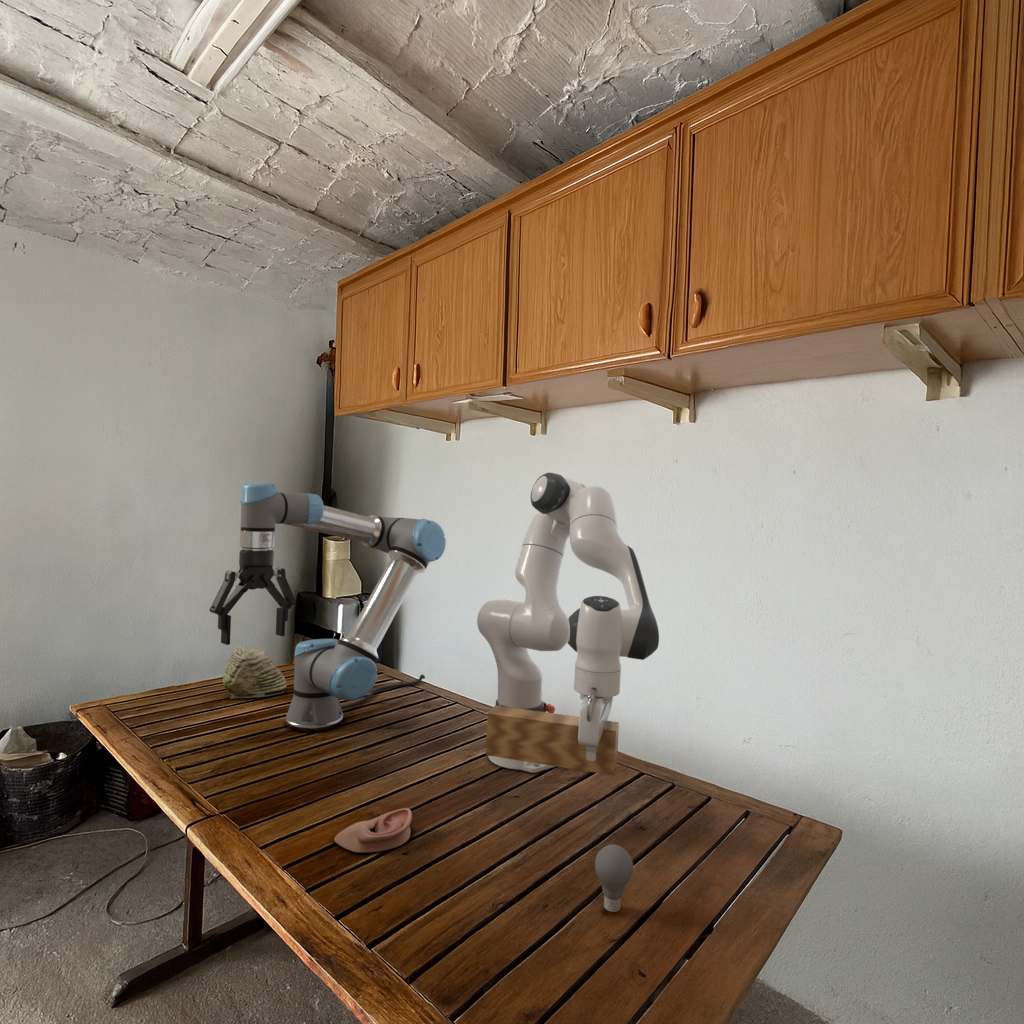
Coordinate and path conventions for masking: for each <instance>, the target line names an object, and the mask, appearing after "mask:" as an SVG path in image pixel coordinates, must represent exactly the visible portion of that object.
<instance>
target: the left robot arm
mask: <svg viewBox="0 0 1024 1024" xmlns="http://www.w3.org/2000/svg"><path fill="white" fill-rule="evenodd" d="M278 524H279V525H280V524H282V525H287V526H291V527H292V526H293V527H296V528H301V529H304V530H308V531H313V532H317V533H322V534H326V535H331V536H335V537H338V538H344V539H348V540H352V541H357V542H360V543H361V544H362V545H363V546H364V547H367V548H371V549H374V550H378V551H381V552H383V553H385V554H388V556H389V562H388V564H387V565H386V567H385V569H384V571H383V572H382V574H381V575H380V577H379V579H378V581H377V583H376V585H375V587H374V589H373V590H372V591H371V594H370V596H369V598H368V599H367V601H366V602H365V605H364V606H363V608H362V610H361V611H360V613H359V615H358V616H357V619H356V621H355V622H354V624H353V625H352V627H351V629H350V631H349V632H348V635H346V636H344V637H343V636H342V637H340V638H339V639H337V638H318V639H308V640H304V641H300V642H299V643H297V644H296V646H295V650H294V655H293V657H294V672H293V673H294V674H293V695H292V696H293V697H292V699H291V702H290V704H289V708H288V711H287V713H286V715H285V726H286V728H287V729H289V730H291V731H294V732H295V731H296V732H301V733H316V732H325V731H329V730H332V729H335V728H337V727H339V726H340V725H342V723H343V722H344V713H343V710H345V709H349V708H353V707H356V706H358V705H360V704H364V703H365V702H366V701H368V700H369V699H371V698H372V697H373V696H374V695H375V694H376V693H378V692H381V691H384V690H389V689H395V688H400V687H401V688H402V687H409V686H415V685H419V684H420V683H421V682H422V680H424V679H426V676H425V675H424V674H423V673H422V674H420V676H419V678H418V679H417V680H415V681H410V682H402V683H396V684H390V685H385V686H381V687H378V688H375V689H374V690H373V688H374V686H375V684H376V682H377V679H378V674H377V672H378V669H377V665H376V664H377V662H378V660H379V655H378V651H377V650H378V648H379V646H380V645H381V642H382V641H383V639H384V637H385V635H386V633H387V632H388V629H389V628H390V625H391V624H392V622H393V620H394V619H395V616H396V615H397V612H398V611H399V609H400V607H401V605H402V603H403V602H404V599H405V598H406V596H407V594H408V592H409V590H410V589H411V586H412V584H413V583H414V581H415V579H416V577H417V576H418V575H419V574H421V573H425V571H426V570H427V567H428V566H429V564H430V563H431V562H435V561H438V560H440V558H441V557H442V556H443V555H444V553H445V550H446V545H447V542H446V541H447V540H446V538H445V532H444V531H445V530H444V529H443V528H442V526H441V525H440V524H439V523H438V522H436V521H434V520H430V519H426V518H420V519H419V518H408V517H390V516H389V517H388V516H387V517H386V516H380V515H376V514H370V515H369V516H366V515H362V514H359V513H355V512H350V511H348V510H343V509H341V508H335V507H333V506H328V505H324V501H323V499H322V498H321V496H320V495H318V494H316V493H308V492H306V493H304V492H303V493H302V492H300V493H299V492H279V491H278V489H277V486H276V484H274V483H261V482H260V483H259V482H246V483H244V484H243V486H242V489H241V499H240V531H239V532H240V533H239V547H240V548H241V549H240V551H239V554H238V557H239V558H238V566H239V569H238V571H232V570H226V571H225V572H224V580H223V581H222V583H221V586H220V588H219V589H218V592H217V593H216V596H215V597H214V599H213V602H212V603H211V606H210V608H209V613H212V614H215V615H217V629H218V630H220V644H223V645H225V646H229V645H231V632H232V631H231V630H232V615H231V614H229V613H230V612H231V611H232V609H234V607H235V606H236V604H237V603H238V602H239V600H240V599H241V598H242V597H243V595H244V594H245V593H247V592H248V591H249V590H251V591H252V590H257V589H259V590H263V589H265V590H266V591H267V592H268V594H269V595H270V596H271V597H272V598H273V599H274V601H275V602H276V604H277V605H278V606H279V607H276V617H275V618H276V619H275V635H276V636H280V637H285V636H286V622H288V620H289V610H290V609H291V608H292V606H295V605H296V604H297V600H296V598H295V595H294V594H293V591H292V589H291V586H290V583H289V581H288V579H287V573H286V569H285V568H283V567H276V568H274V563H275V551H274V550H273V549H274V547H275V533H276V525H278ZM273 577H274V578H275V579H276V581H277V584H278V586H279V589H280V591H281V592H280V591H279V589H278V588H277V587H276V584H275V583H274V582H273V580H272V578H273ZM237 580H239V582H238V583H237V584H236V585H235V583H236V581H237ZM234 585H235V589H233V587H234ZM232 589H233V591H232ZM231 591H232V592H231ZM340 700H343V701H348V702H352V703H348V704H344V705H341V702H340ZM353 701H354V702H353Z"/></svg>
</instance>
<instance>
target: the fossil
mask: <svg viewBox="0 0 1024 1024" xmlns="http://www.w3.org/2000/svg"><path fill="white" fill-rule="evenodd" d="M222 676H223V677H222V685H223V687H224V688H225V690H226V691H228V693H229V698H230V699H250V698H264V697H271V696H275V695H281V694H284V693H285V691H286V689H287V687H288V686H287V680H286V678H285V676H284V674H283V673H282V672H281V669H279V668H278V667H277V665H276V663H275V662H274V660H273V659H272V658H271V657H270V656H269V655H268V654H267V653H266V652H265V650H264V649H263V648H260V647H258V648H251V647H247V646H246V647H245V646H238V647H237V648H236V649H235V650H233V651H232V653H231V656H230V657H229V659H228V660H227V663H226V666H225V668H224V671H223V675H222Z"/></svg>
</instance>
